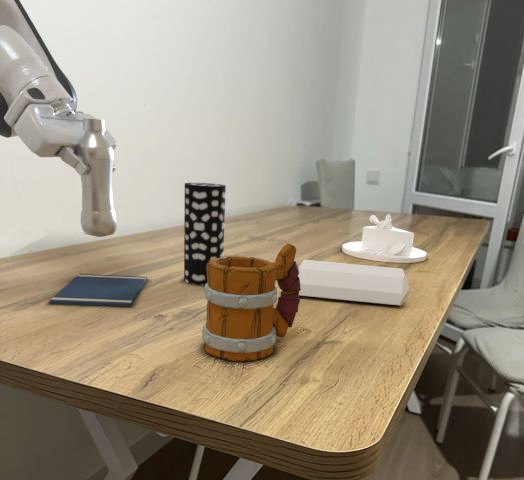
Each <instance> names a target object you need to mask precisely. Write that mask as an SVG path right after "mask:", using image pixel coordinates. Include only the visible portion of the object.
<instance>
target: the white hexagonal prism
mask: <svg viewBox="0 0 524 480" xmlns="http://www.w3.org/2000/svg"><path fill="white" fill-rule="evenodd" d="M298 270H299V275H298V277H299V279H300V287H301V291H299V297H307V298H316V299H317V298H318V299H326V300H337V301H348V302H355V303H367V304H377V305H385V306H386V305H387V306H396V307H397V306H398V307H401V306H402V305H403V304H404V302H405V301H406V300H407V298H408V297H409V295H410V294H411V293H410V292H411V288H410V286H409V283H408V280H407V277H406V274H405V272H404V268H400V267H389V266H379V265H365V264H357V263H356V264H355V263H346V262H345V263H344V262H335V261H323V260H313V259H303V260H302V262H301V263H300V264H299V266H298Z"/></svg>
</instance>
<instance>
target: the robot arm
mask: <svg viewBox="0 0 524 480" xmlns="http://www.w3.org/2000/svg"><path fill="white" fill-rule="evenodd" d="M77 108H78V96H77V92H76V89H75V88H74V85H73V84H72V83H71V81H70V79H69V78H68V77H67V75H66V74H65V73H64V72H63V70H62V69H61V67H60V66H59V65H58V63H57V62H56V61H55V59H54V57H53V56H52V53H51V51H50V50H49V48H48V47H47V45H46V43H45V42H44V40H43V38H42V36H41V35H40V33H39V31H38V29H37V28H36V26H35V24H34V22H33V21H32V19H31V18H30V16H29V13H28V12H27V10H26V9H25V7H24V5H23V4H22V2H21V1H20V0H0V136H1V137H3V138H6V139H9V138H14V137H19V139H20V140H21V141H22V142H23V144H24V145H25V146H26V147H27V148H28V150H29V151H30V152H32V153H33V154H34V155H36V156H38V157H40V158H60V160H61V161H62V162H63V163H65V164H66V165H68V166H69V167H71V168H73V169H74V170H75V172H76V173H77V174H78V175H79V176H81V175H87V174H88V172H89V171H90V167H89V166H88V165H87V163H86V162H85V161H82V160H81V159H79V158H78V157H77V153H76V150H77V146H78V145H79V142H80V140H81V138H82V137H83V135H84V130H83V129H82V127H83V118H85V119H97V118H96V116H94V115H92V114H89V113H85V112H83V111H77ZM104 136H105V137H106V139H107V140H108V141H109V143H110V145H111V146H112V149H113V152H114V151H115V149H116V148H117V147H118V143H117V140H116V138H115V137H114V136H113V134H112V133H111V132H109V130H108V129H107V128H106V127H105V131H104ZM116 169H117V167H116V165H115V163H113V171H112V174H113V173H114V172H115V171H116Z"/></svg>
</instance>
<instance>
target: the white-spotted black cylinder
mask: <svg viewBox="0 0 524 480" xmlns="http://www.w3.org/2000/svg"><path fill="white" fill-rule="evenodd" d="M226 190H227V185H226V184H220V183H209V182H185V183H184V215H183V216H184V220H183V221H184V223H183V224H184V225H183V226H184V227H183V228H184V229H183V230H184V234H183V236H184V238H183V239H184V241H183V244H184V246H183V247H184V249H183V250H184V252H183V281H184V282H186V283H187V284H189V285H193V286H204V287H205V284H206V283H208V280H207V269H206V264H207V263H208V261H210V260H212V259H216V258H223V257H224V253H225V252H224V251H225V250H224V247H225V222H226V221H225V219H226V193H227V191H226Z"/></svg>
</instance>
